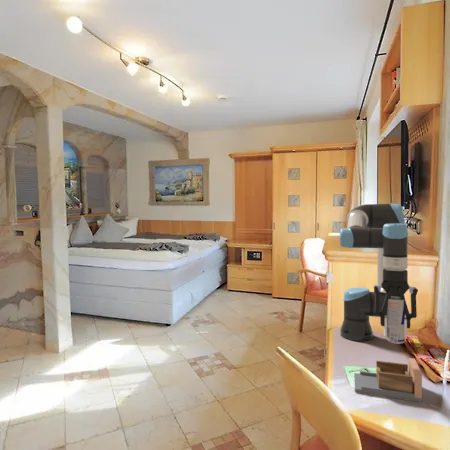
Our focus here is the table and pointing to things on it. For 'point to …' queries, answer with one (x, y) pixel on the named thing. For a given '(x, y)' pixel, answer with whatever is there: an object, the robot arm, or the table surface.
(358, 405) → the table surface
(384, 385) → the open wooden box
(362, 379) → the board
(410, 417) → the table surface
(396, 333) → the beverage can
